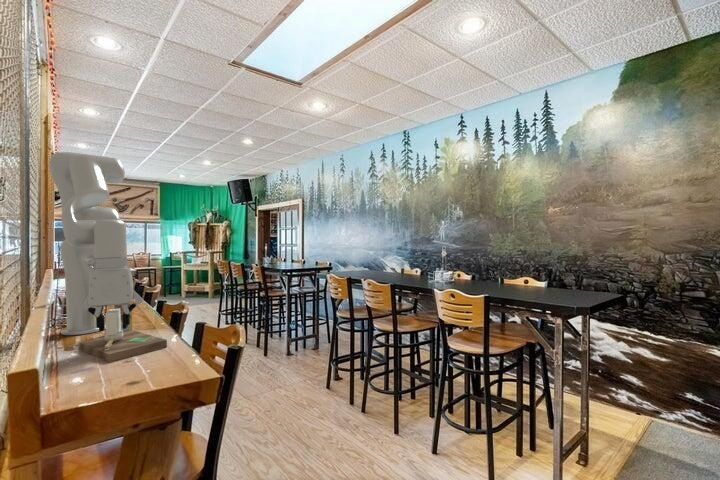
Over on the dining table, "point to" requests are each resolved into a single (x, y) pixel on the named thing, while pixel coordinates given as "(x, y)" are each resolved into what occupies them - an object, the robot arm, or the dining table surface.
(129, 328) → the candy box
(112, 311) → the white block on stick
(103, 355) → the dial board
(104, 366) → the dining table surface
